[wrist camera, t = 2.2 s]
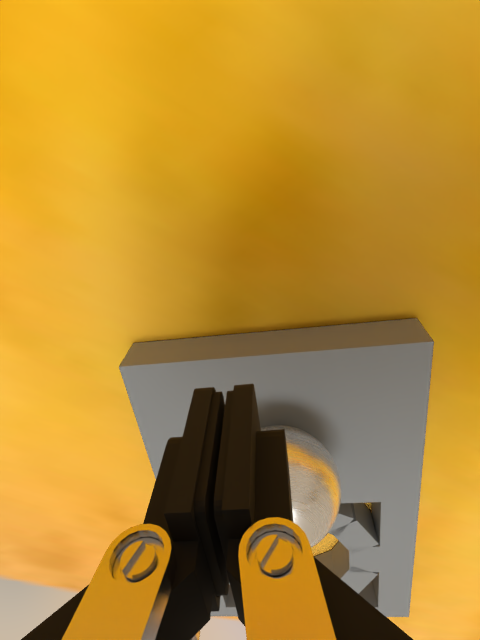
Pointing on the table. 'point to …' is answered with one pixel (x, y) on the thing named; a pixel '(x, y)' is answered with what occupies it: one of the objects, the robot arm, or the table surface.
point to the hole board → (317, 426)
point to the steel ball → (311, 483)
